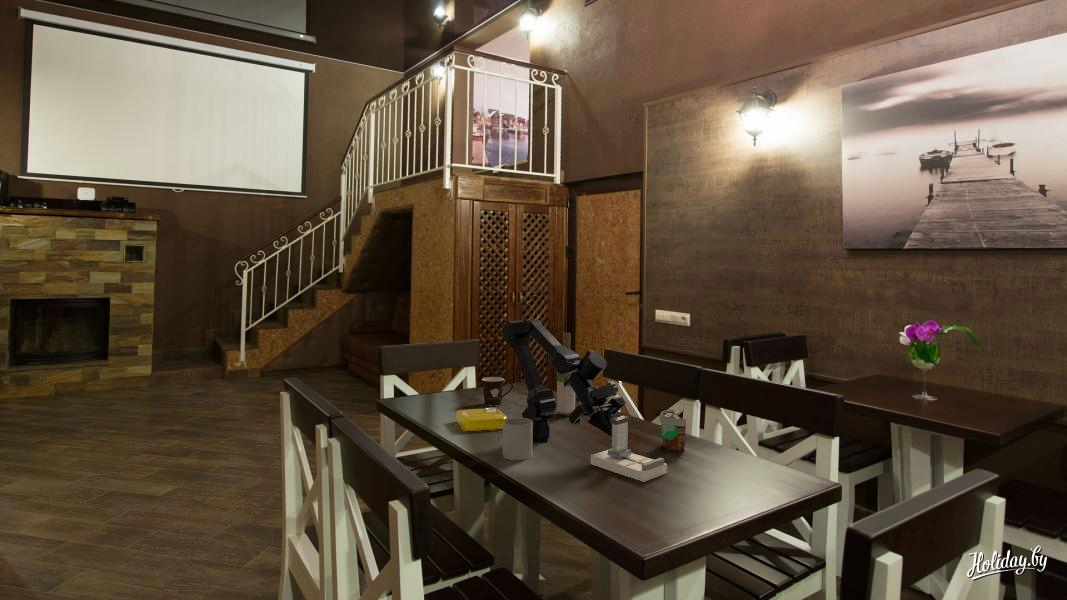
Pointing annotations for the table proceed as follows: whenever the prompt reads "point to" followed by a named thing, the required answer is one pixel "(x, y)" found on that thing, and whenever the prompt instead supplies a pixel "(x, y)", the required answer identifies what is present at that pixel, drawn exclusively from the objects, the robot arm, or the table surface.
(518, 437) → the cup
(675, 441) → the food container
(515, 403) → the table surface
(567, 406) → the bottle
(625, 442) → the fader
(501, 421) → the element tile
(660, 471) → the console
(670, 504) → the table surface
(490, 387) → the coffee mug
